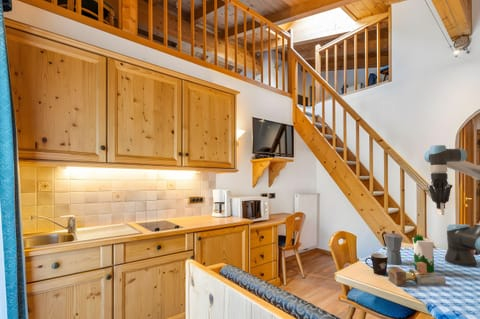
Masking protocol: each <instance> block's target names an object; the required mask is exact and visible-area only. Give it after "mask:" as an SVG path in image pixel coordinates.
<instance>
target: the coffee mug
mask: <svg viewBox="0 0 480 319" xmlns="http://www.w3.org/2000/svg"><path fill="white" fill-rule="evenodd" d="M368 260H371V264H372V265H370V264H369V263H367V261H368ZM387 260H388V256H387V255H386V254H385V253H381V252H380V253H379V252H373V253H370V257H366V258H365V260H364V262H365V264H366V265H367V266H368V267H370V268H371V269H372V271H373V274H374V275H377V276H386V275H387V273H388V263H387Z"/></svg>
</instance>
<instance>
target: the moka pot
mask: <svg viewBox="0 0 480 319" xmlns="http://www.w3.org/2000/svg"><path fill="white" fill-rule="evenodd" d="M395 232H396V230H391V232H388V231H387V232H386V231H385V230H384V231H383V232H382V233H381V237H382V241H383V245H384V246H385V247H386V252H385V253H386V254H385V255H387V256H388V260H387V264H390V265H394V266H400V265H402V263H403V261H402V255H401V248H402V242H403V240H404V238H403V235H401V234H400V233H395Z"/></svg>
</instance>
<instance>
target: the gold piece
mask: <svg viewBox="0 0 480 319" xmlns="http://www.w3.org/2000/svg"><path fill="white" fill-rule="evenodd" d="M416 271H417V272H419V273H420V275H421V277H427V265H426V264H425V263H424V262H417V270H416ZM411 280H417V279H416V274H415V273H410V272H406V282H407V281H410V282H412V281H411Z"/></svg>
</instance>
